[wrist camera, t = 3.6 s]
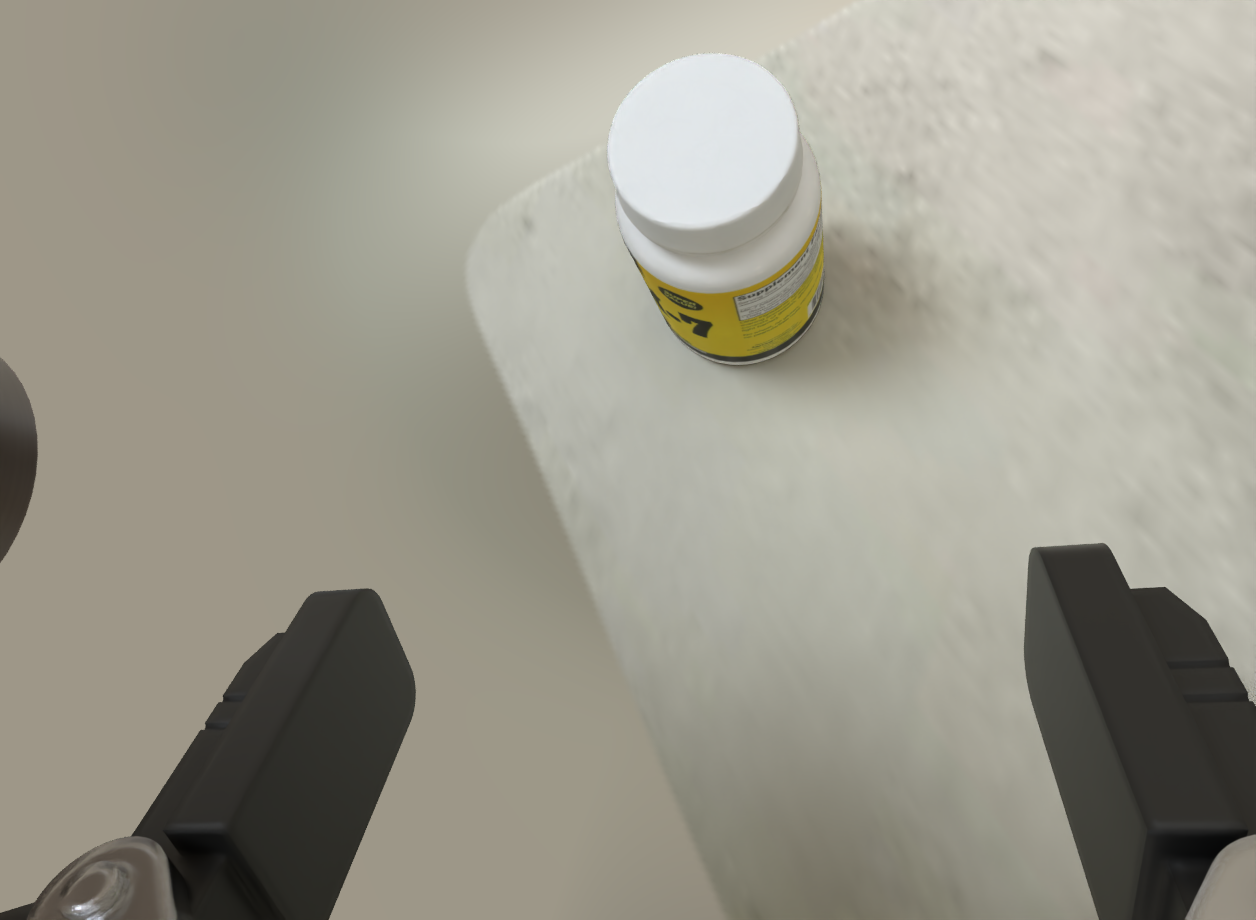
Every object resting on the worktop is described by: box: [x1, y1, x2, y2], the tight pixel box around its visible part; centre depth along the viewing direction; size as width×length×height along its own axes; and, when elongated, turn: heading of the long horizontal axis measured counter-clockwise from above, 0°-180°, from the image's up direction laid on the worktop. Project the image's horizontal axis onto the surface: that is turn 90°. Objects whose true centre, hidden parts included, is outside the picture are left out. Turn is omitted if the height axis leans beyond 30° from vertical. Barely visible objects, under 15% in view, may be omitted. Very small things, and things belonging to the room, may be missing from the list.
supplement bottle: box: [607, 53, 824, 365], centre depth 23 cm, size 5×5×8 cm
